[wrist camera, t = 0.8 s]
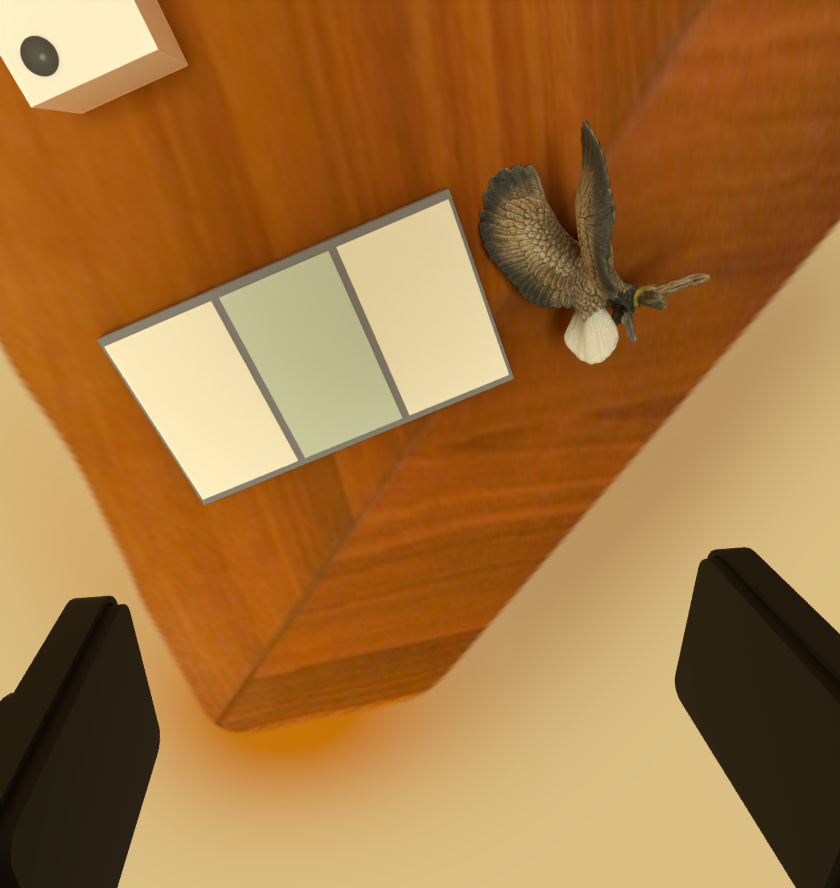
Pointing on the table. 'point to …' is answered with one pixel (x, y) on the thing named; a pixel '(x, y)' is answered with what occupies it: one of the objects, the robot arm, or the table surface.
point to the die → (85, 50)
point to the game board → (315, 349)
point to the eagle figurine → (568, 253)
